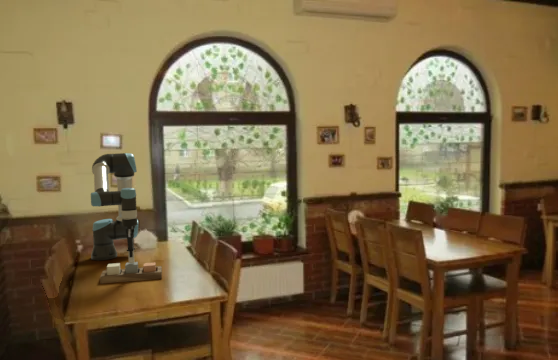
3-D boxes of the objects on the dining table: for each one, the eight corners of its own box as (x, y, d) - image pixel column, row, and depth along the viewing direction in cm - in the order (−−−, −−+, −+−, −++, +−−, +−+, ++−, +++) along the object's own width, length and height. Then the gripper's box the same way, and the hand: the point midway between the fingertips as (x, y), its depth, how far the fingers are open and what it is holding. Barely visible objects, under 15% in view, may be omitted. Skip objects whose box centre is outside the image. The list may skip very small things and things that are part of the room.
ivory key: (108, 272, 252) (108, 264, 252) (120, 271, 253) (120, 263, 253) (107, 275, 246) (106, 267, 246) (119, 274, 248) (119, 266, 247)
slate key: (126, 271, 254) (126, 262, 254) (138, 270, 255) (137, 261, 255) (125, 274, 248) (125, 265, 248) (137, 273, 250) (137, 264, 249)
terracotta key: (144, 271, 256) (143, 263, 256) (155, 270, 258) (155, 262, 257) (143, 274, 250) (143, 266, 250) (155, 273, 252) (155, 265, 251)
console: (103, 276, 255) (103, 270, 254) (161, 272, 261) (161, 265, 261) (100, 283, 243) (100, 276, 243) (161, 278, 250) (161, 271, 249)
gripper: (123, 216, 255) (125, 260, 257) (120, 220, 242) (123, 266, 244) (137, 215, 256) (139, 259, 258) (136, 219, 244) (138, 265, 246)
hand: (131, 262), depth 251 cm, fingers closed
